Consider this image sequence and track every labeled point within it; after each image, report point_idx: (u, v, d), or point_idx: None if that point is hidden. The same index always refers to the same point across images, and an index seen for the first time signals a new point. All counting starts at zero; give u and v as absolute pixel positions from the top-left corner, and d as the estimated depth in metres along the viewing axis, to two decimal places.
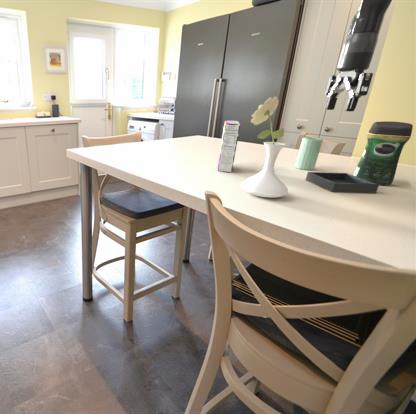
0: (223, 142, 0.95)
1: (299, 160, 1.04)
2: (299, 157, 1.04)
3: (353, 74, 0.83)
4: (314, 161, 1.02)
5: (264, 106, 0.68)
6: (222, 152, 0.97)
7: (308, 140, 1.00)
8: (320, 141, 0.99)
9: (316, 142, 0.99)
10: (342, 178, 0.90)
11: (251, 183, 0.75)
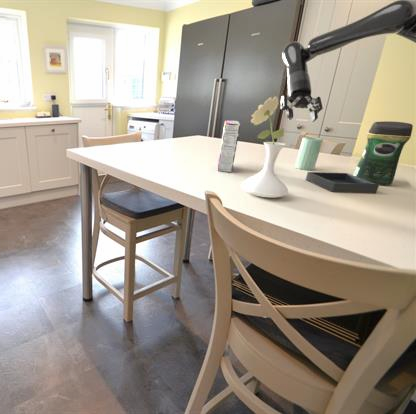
0: (223, 142, 0.95)
1: (299, 160, 1.04)
2: (299, 157, 1.04)
3: None
4: (314, 161, 1.02)
5: (264, 106, 0.68)
6: (222, 152, 0.97)
7: (308, 140, 1.00)
8: (320, 141, 0.99)
9: (316, 142, 0.99)
10: (342, 178, 0.90)
11: (251, 183, 0.75)
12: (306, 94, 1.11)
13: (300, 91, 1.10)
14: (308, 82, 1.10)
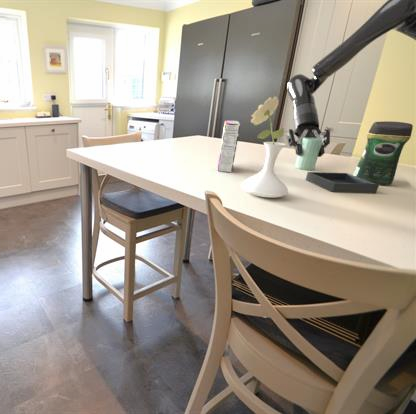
0: (223, 142, 0.95)
1: (299, 160, 1.04)
2: (299, 157, 1.04)
3: None
4: (314, 161, 1.02)
5: (264, 106, 0.68)
6: (222, 152, 0.97)
7: (308, 140, 1.00)
8: (320, 141, 0.99)
9: (316, 142, 0.99)
10: (342, 178, 0.90)
11: (251, 183, 0.75)
12: (313, 127, 1.05)
13: (306, 125, 1.05)
14: (315, 115, 1.05)
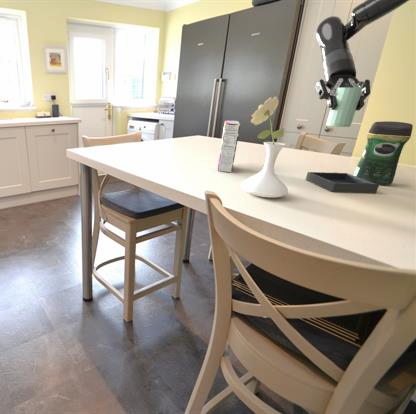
0: (223, 142, 0.95)
1: (332, 115, 0.87)
2: (332, 112, 0.87)
3: None
4: (351, 115, 0.85)
5: (264, 106, 0.68)
6: (222, 152, 0.97)
7: (345, 89, 0.83)
8: (360, 89, 0.82)
9: (355, 91, 0.82)
10: (342, 178, 0.90)
11: (251, 183, 0.75)
12: (349, 76, 0.88)
13: (340, 73, 0.88)
14: (351, 61, 0.87)
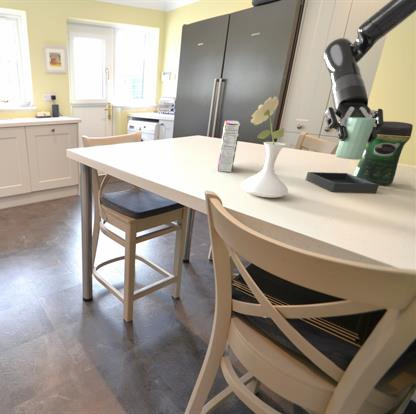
0: (223, 142, 0.95)
1: (342, 147, 0.81)
2: (342, 143, 0.81)
3: None
4: (363, 148, 0.79)
5: (264, 106, 0.68)
6: (222, 152, 0.97)
7: (356, 120, 0.77)
8: (373, 121, 0.76)
9: (368, 122, 0.76)
10: (342, 178, 0.90)
11: (251, 183, 0.75)
12: (361, 104, 0.82)
13: (351, 101, 0.82)
14: (363, 89, 0.81)
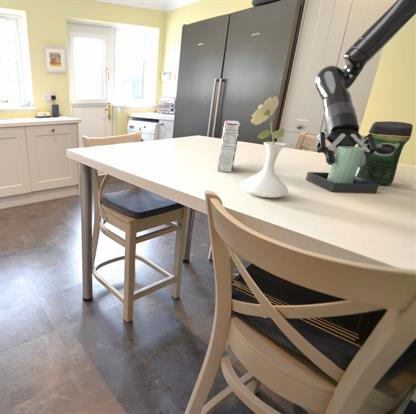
0: (223, 142, 0.95)
1: (333, 174, 0.84)
2: (333, 171, 0.84)
3: None
4: (353, 176, 0.82)
5: (264, 106, 0.68)
6: (222, 152, 0.97)
7: (346, 150, 0.80)
8: (361, 151, 0.79)
9: (356, 153, 0.79)
10: None
11: (251, 183, 0.75)
12: (352, 131, 0.85)
13: (342, 128, 0.85)
14: (353, 116, 0.84)
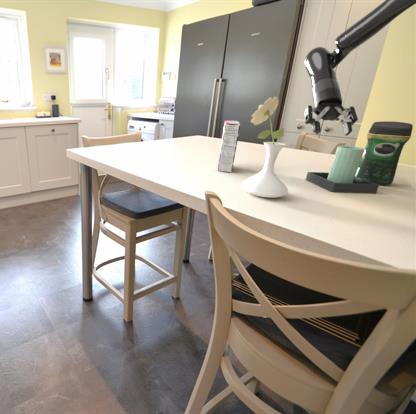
0: (223, 142, 0.95)
1: (333, 174, 0.84)
2: (333, 171, 0.84)
3: None
4: (353, 176, 0.82)
5: (264, 106, 0.68)
6: (222, 152, 0.97)
7: (346, 150, 0.80)
8: (361, 151, 0.79)
9: (356, 153, 0.79)
10: None
11: (251, 183, 0.75)
12: (336, 104, 0.94)
13: (328, 101, 0.95)
14: (337, 90, 0.94)
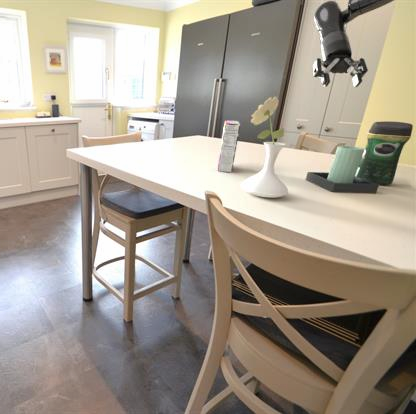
0: (223, 142, 0.95)
1: (333, 174, 0.84)
2: (333, 171, 0.84)
3: None
4: (353, 176, 0.82)
5: (264, 106, 0.68)
6: (222, 152, 0.97)
7: (346, 150, 0.80)
8: (361, 151, 0.79)
9: (356, 153, 0.79)
10: None
11: (251, 183, 0.75)
12: (345, 56, 0.93)
13: (337, 54, 0.93)
14: (347, 42, 0.92)
